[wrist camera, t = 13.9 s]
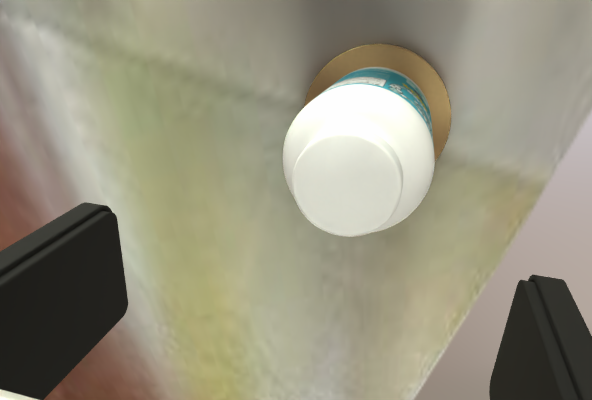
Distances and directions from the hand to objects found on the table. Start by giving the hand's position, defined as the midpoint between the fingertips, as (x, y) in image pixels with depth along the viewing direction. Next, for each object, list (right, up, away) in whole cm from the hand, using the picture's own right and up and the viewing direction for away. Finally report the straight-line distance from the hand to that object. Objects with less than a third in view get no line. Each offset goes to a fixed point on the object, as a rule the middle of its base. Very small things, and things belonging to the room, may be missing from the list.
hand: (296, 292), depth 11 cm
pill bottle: (+5, +8, +21) cm, 23 cm away
